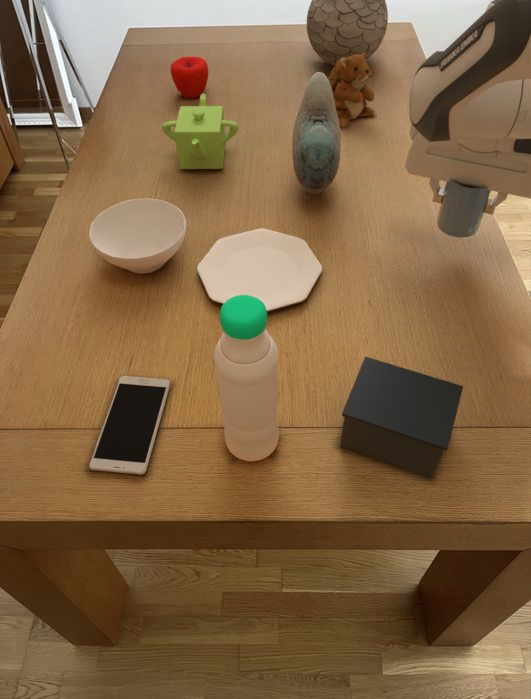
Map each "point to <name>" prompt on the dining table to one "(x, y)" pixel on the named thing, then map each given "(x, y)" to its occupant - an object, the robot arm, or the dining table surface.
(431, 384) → the container
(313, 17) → the decorative sphere
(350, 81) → the stuffed squirrel
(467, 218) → the cup
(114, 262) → the bowl
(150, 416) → the smartphone
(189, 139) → the teapot
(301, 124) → the decorative stone
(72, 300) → the dining table surface
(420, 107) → the robot arm
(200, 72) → the apple
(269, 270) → the plate
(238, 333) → the water bottle
